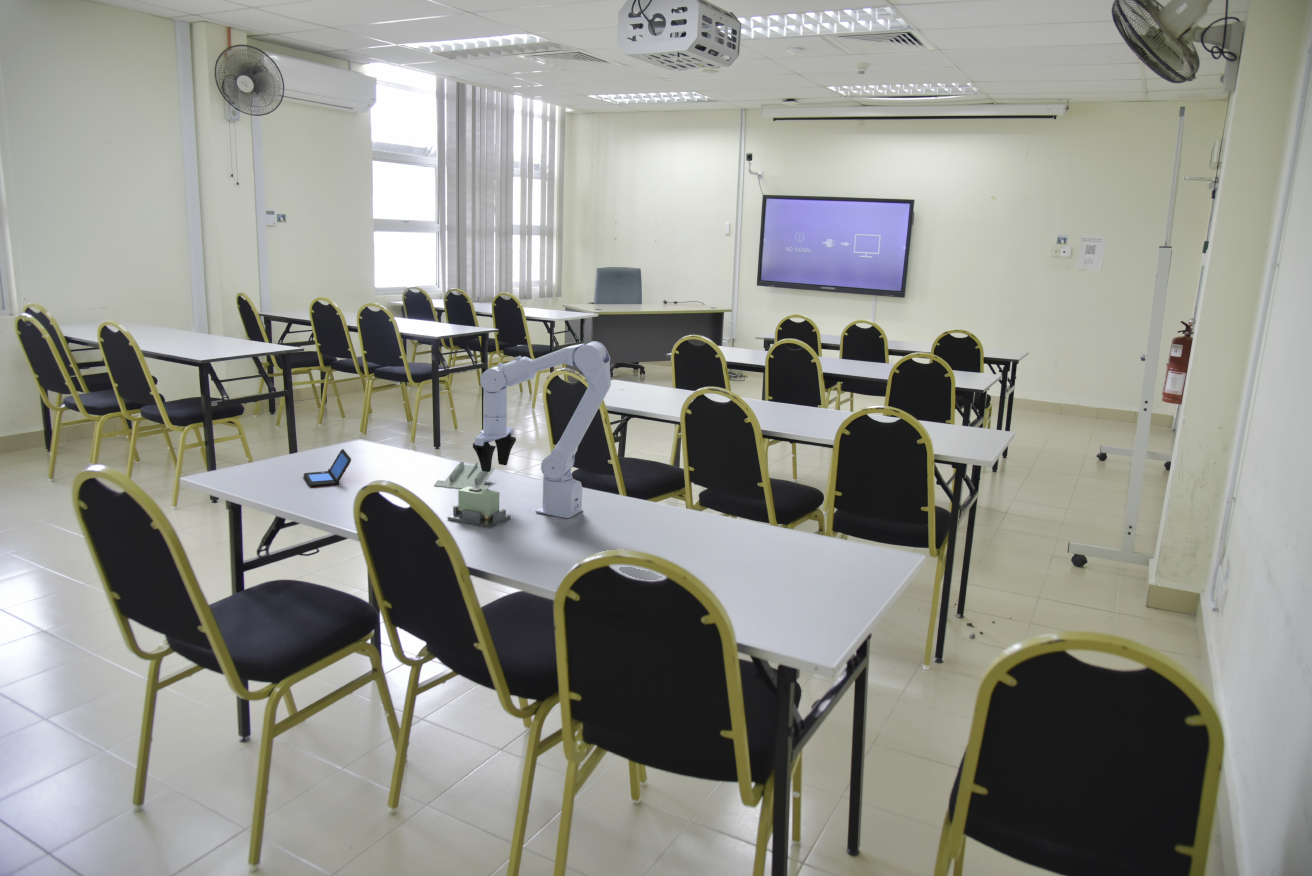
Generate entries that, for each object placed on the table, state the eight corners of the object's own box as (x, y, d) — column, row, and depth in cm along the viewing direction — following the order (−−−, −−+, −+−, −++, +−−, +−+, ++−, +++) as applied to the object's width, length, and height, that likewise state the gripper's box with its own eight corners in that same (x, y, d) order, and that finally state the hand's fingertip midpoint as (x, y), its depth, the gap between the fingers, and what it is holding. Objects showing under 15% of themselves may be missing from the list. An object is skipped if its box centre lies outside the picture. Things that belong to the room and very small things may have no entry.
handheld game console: (302, 477, 236) (301, 450, 234) (343, 473, 241) (343, 448, 240) (309, 489, 226) (308, 461, 224) (352, 485, 231) (351, 458, 229)
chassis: (510, 517, 210) (510, 507, 209) (490, 528, 201) (490, 516, 201) (469, 510, 214) (469, 499, 213) (447, 519, 206) (447, 508, 205)
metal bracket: (452, 456, 243) (502, 461, 240) (454, 473, 246) (504, 479, 243) (430, 482, 231) (483, 488, 228) (433, 500, 234) (485, 506, 231)
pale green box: (499, 511, 207) (499, 490, 206) (490, 516, 204) (490, 494, 203) (468, 505, 211) (468, 484, 210) (458, 510, 207) (458, 488, 206)
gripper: (497, 408, 222) (497, 459, 225) (464, 418, 208) (464, 471, 211) (520, 412, 219) (520, 463, 222) (488, 421, 206) (488, 476, 209)
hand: (494, 467), depth 217 cm, fingers open, 7 cm apart
